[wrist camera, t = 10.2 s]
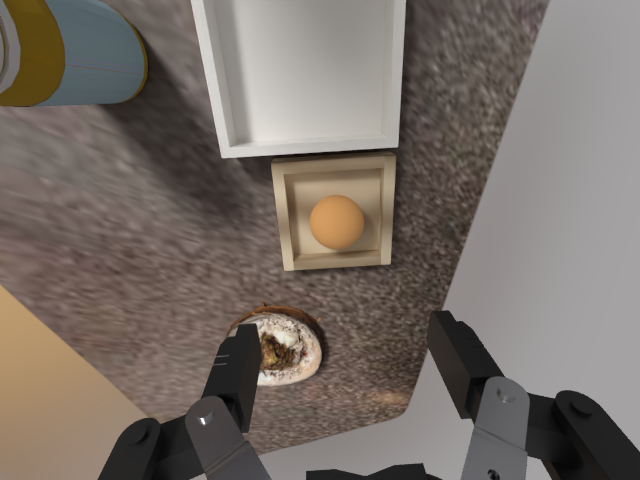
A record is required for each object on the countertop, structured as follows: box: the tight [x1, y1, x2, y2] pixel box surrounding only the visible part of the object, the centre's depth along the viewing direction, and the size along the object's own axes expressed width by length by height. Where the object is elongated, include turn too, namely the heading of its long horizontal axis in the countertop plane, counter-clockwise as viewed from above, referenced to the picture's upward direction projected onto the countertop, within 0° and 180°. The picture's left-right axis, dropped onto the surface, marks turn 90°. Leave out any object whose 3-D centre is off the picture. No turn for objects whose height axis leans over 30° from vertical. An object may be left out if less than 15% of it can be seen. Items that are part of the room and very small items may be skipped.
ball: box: [310, 195, 364, 249], centre depth 28 cm, size 5×5×5 cm
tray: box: [271, 151, 396, 271], centre depth 30 cm, size 11×11×2 cm
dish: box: [191, 0, 406, 158], centre depth 23 cm, size 15×15×4 cm
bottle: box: [0, 0, 148, 107], centre depth 18 cm, size 7×7×15 cm
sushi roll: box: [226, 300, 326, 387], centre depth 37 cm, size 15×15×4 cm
